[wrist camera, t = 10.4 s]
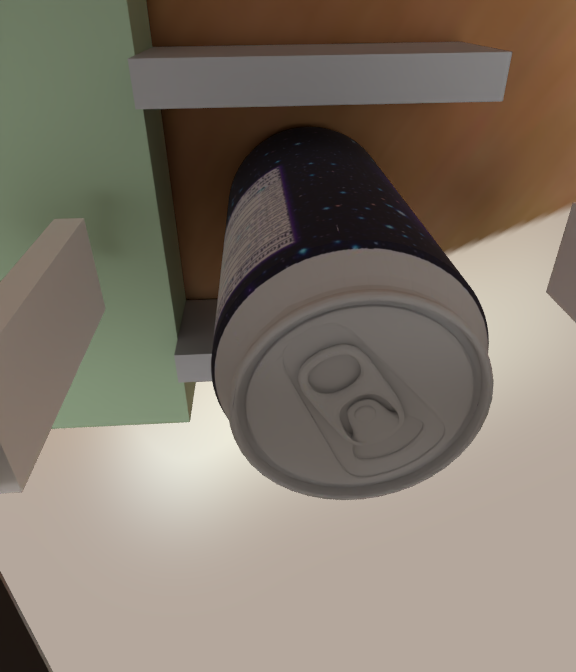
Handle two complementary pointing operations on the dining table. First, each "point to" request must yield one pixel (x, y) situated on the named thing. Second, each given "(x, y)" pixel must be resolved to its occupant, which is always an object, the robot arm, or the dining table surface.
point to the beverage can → (342, 326)
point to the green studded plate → (161, 167)
